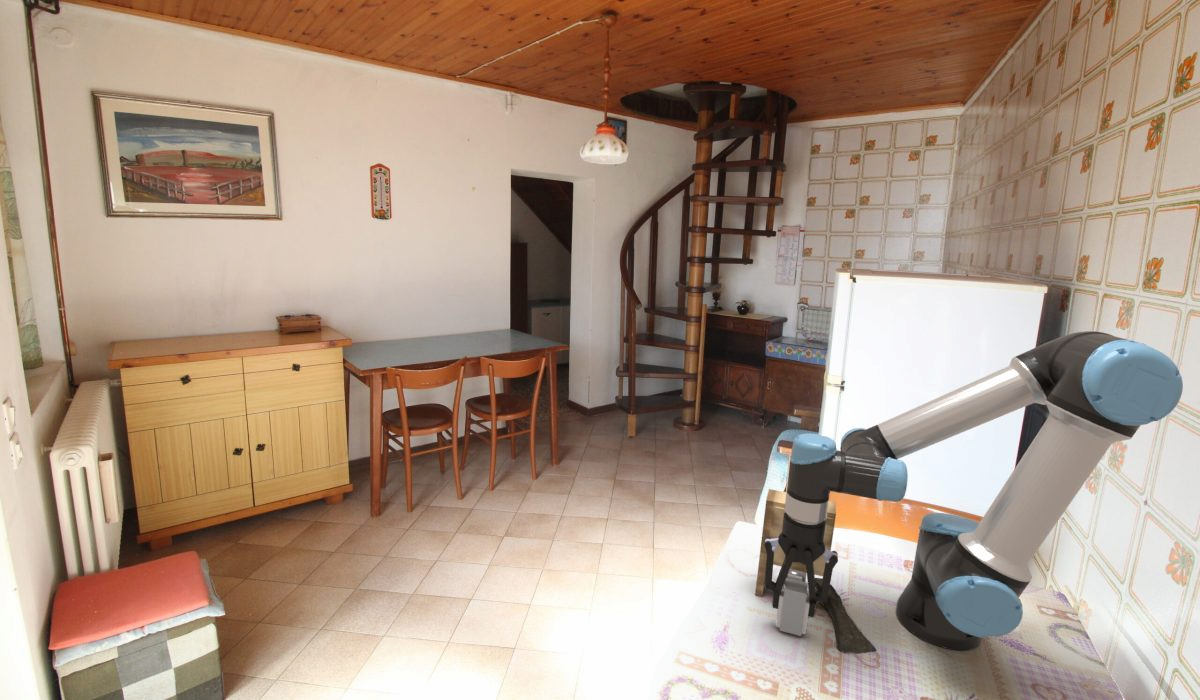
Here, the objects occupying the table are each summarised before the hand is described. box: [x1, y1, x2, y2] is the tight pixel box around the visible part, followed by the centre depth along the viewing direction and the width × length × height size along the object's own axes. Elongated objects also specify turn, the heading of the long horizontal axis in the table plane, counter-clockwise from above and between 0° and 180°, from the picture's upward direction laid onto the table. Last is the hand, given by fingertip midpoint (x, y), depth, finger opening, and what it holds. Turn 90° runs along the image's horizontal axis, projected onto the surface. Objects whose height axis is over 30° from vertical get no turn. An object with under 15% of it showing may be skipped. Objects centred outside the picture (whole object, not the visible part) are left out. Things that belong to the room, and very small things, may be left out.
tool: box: [815, 577, 877, 655], centre depth 118 cm, size 21×8×3 cm, turn 3°
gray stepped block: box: [779, 574, 808, 637], centre depth 118 cm, size 4×17×9 cm, turn 160°
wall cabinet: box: [754, 488, 837, 598], centre depth 122 cm, size 14×7×22 cm, turn 69°
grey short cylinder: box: [784, 569, 807, 585], centre depth 129 cm, size 5×5×3 cm
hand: (791, 625), depth 113 cm, fingers closed on gray stepped block, 4 cm apart
